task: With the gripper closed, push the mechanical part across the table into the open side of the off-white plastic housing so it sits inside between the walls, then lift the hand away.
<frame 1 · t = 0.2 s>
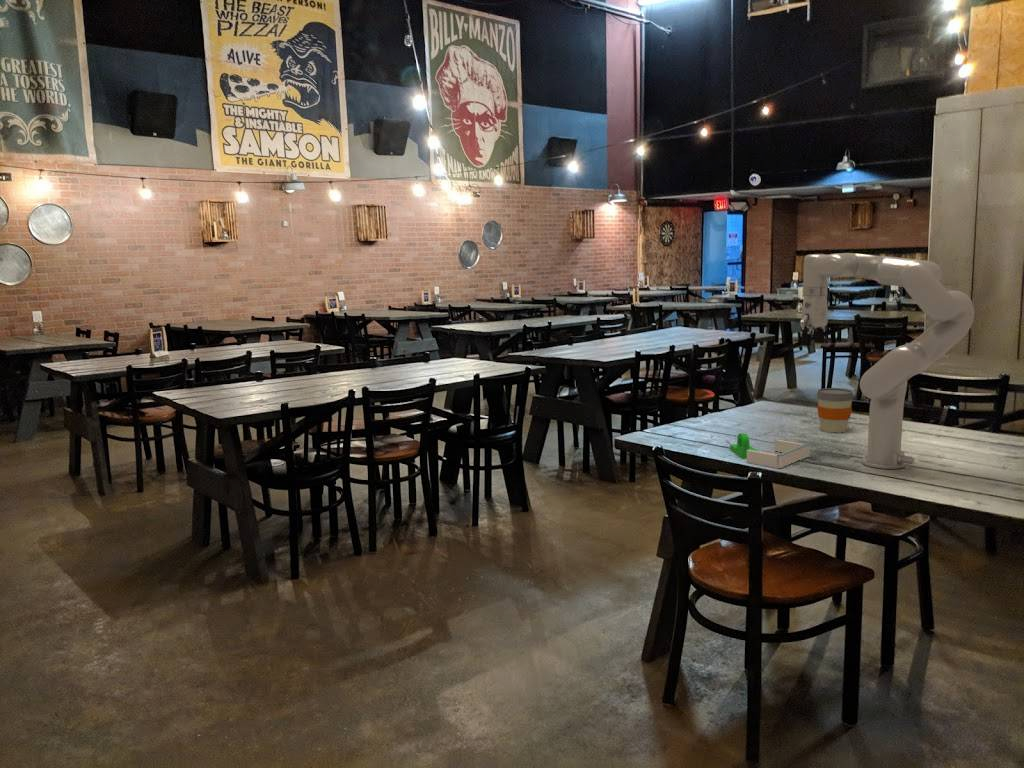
hand: (812, 344, 260), 37 cm above the table, tool pointing down, fingers open, 9 cm apart
mechanical part: (744, 454, 266), on the table
housing: (777, 459, 258), on the table
reusable coffee cup: (833, 430, 296), on the table
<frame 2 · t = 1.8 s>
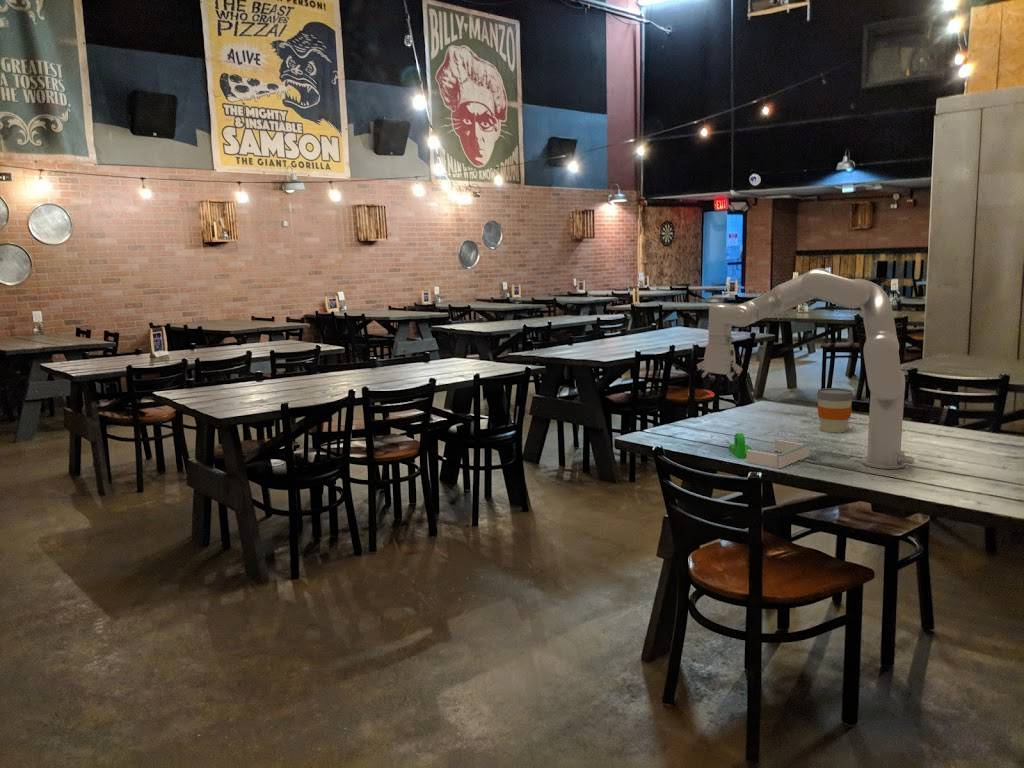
hand: (718, 390, 271), 21 cm above the table, tool pointing down, fingers open, 9 cm apart
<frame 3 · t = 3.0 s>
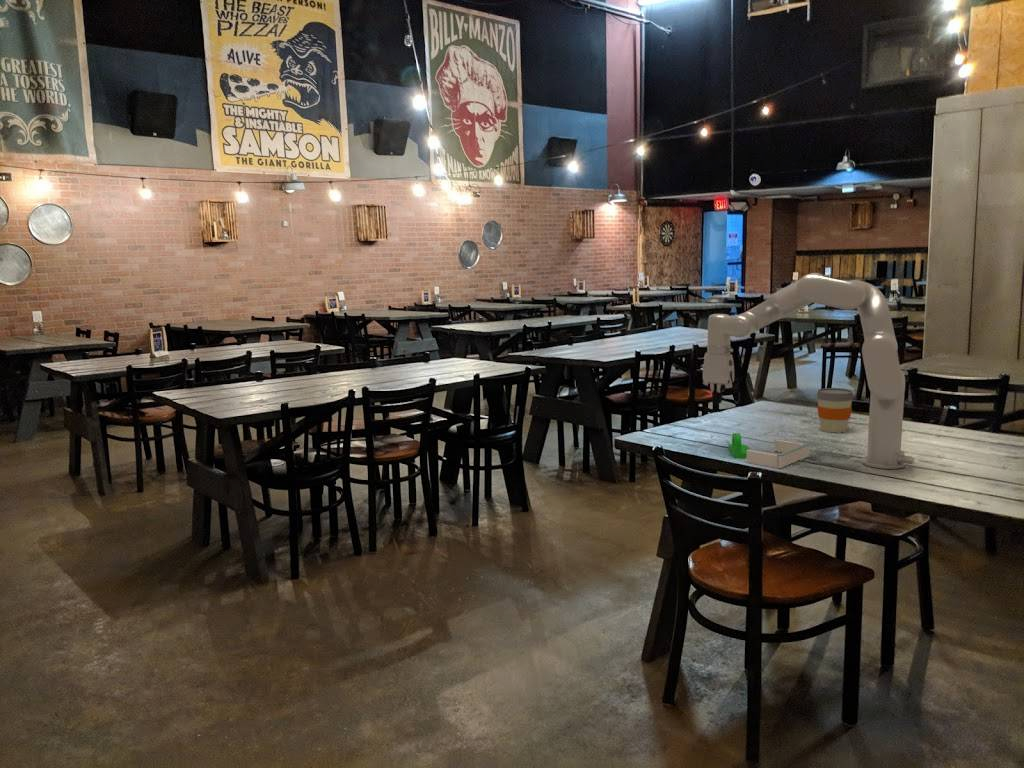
hand: (716, 402, 272), 16 cm above the table, tool pointing down, fingers closed
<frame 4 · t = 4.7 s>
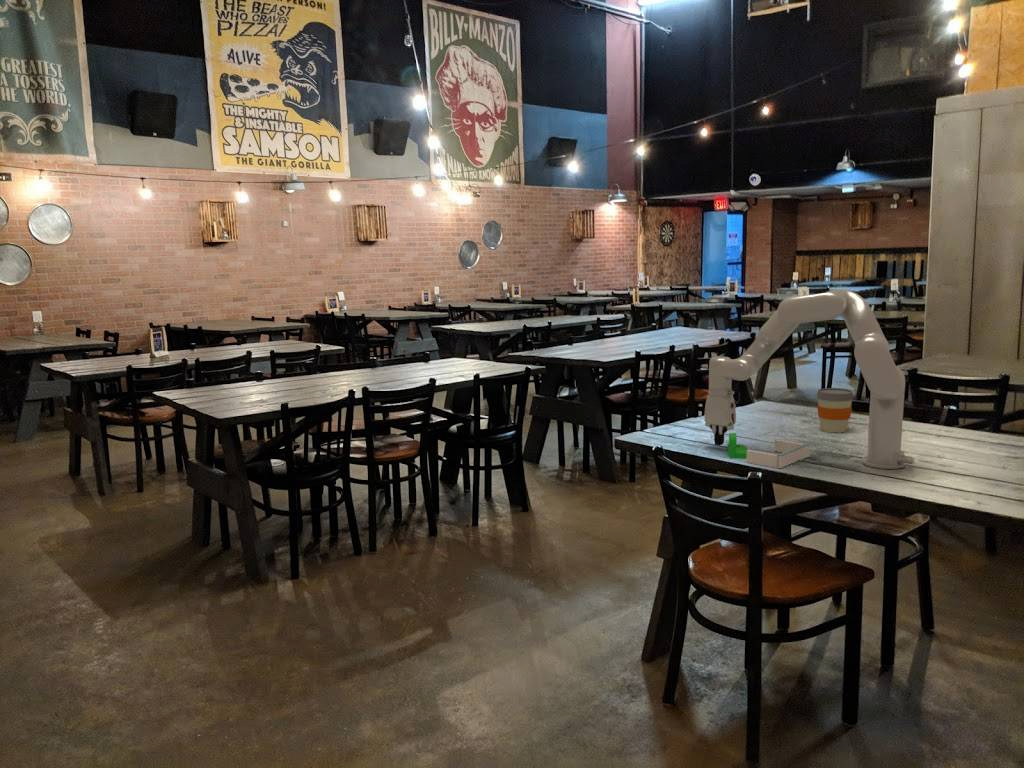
hand: (719, 444, 273), 1 cm above the table, tool pointing down, fingers closed
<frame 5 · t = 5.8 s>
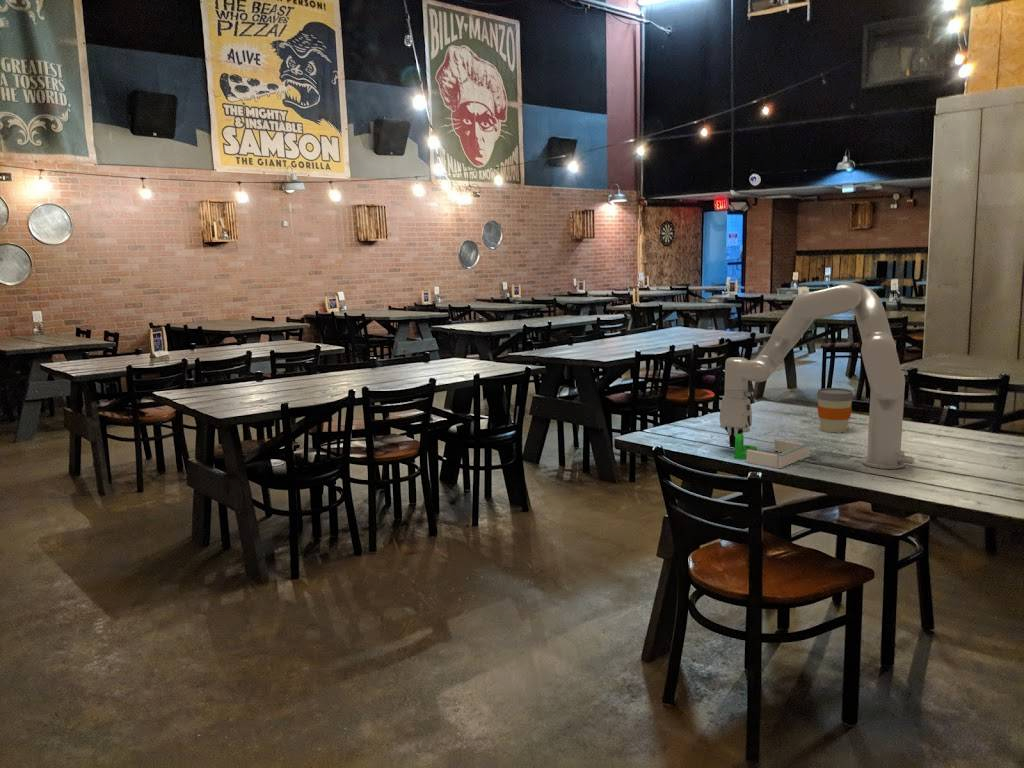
hand: (734, 446, 269), 2 cm above the table, tool pointing down, fingers closed
mechanical part: (746, 455, 265), on the table, touching gripper
everything else where it was.
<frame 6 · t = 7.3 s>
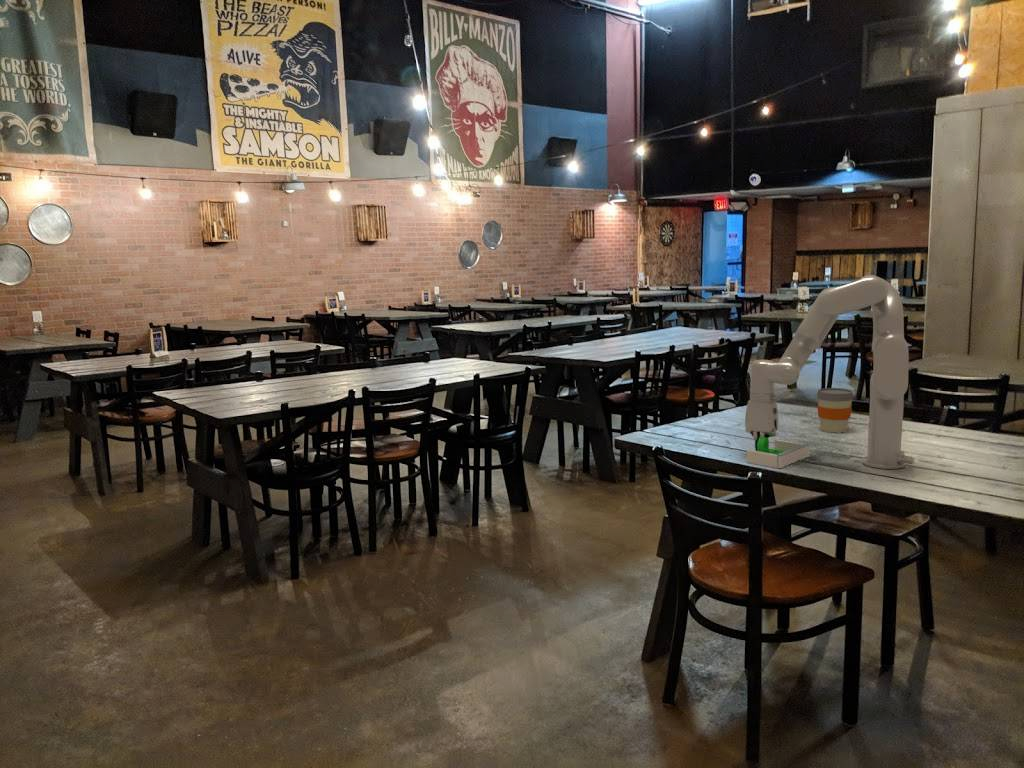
hand: (760, 451, 262), 2 cm above the table, tool pointing down, fingers closed
mechanical part: (771, 460, 259), on the table
everything else where it was.
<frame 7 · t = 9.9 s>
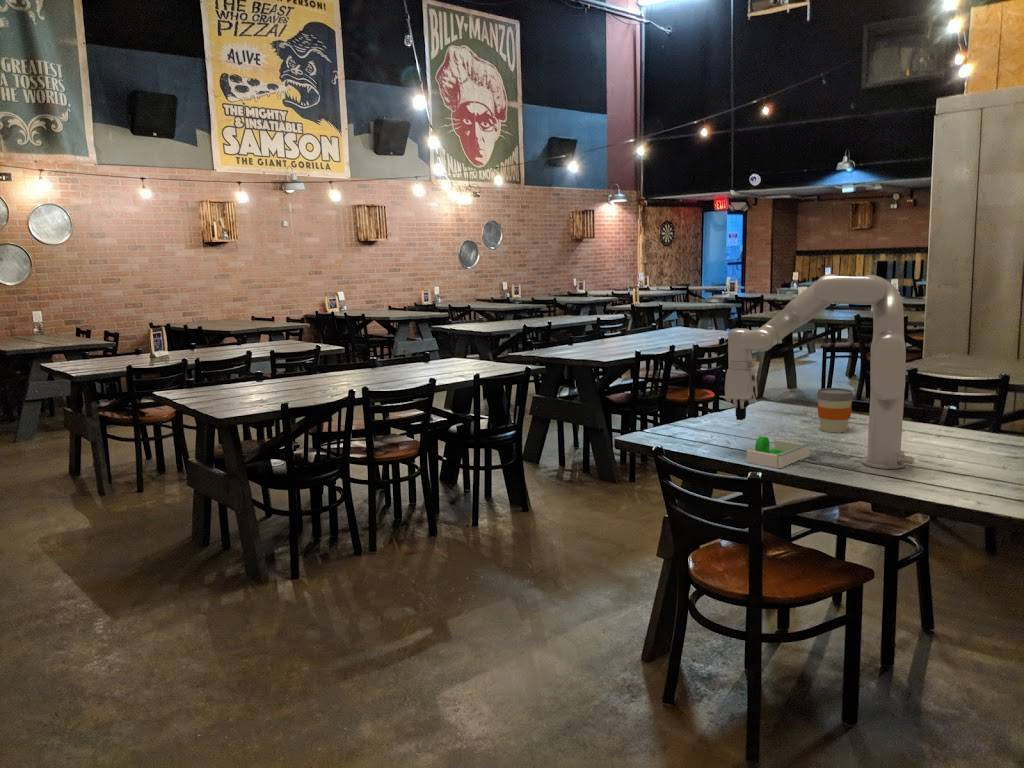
hand: (740, 419, 266), 11 cm above the table, tool pointing down, fingers closed
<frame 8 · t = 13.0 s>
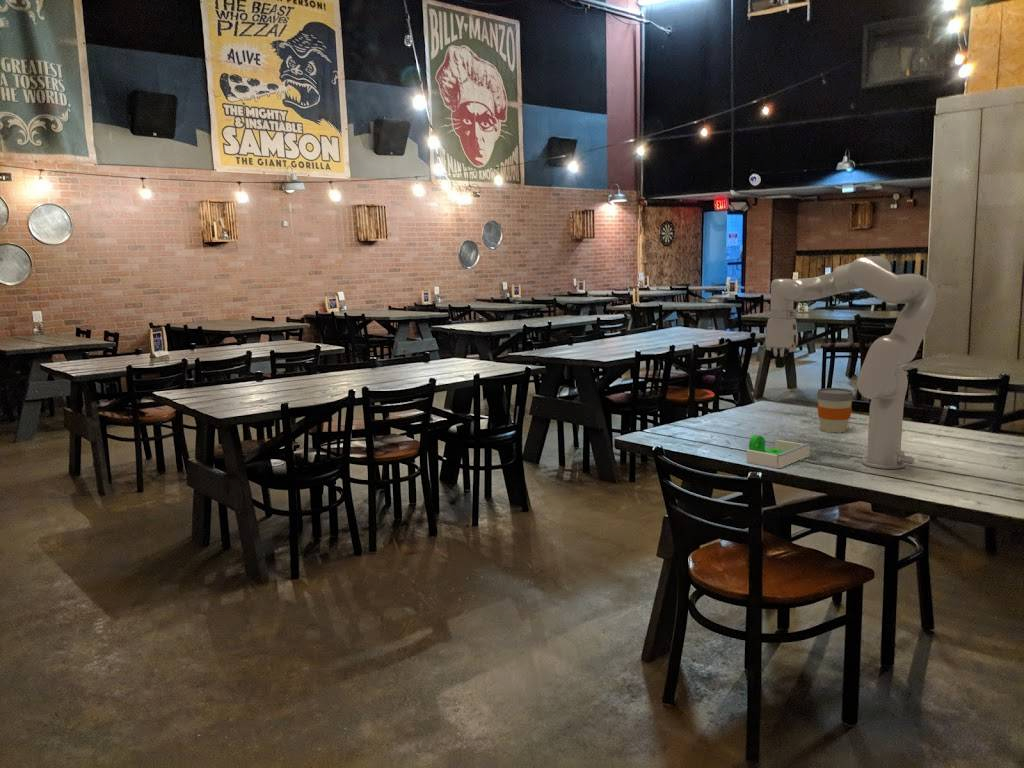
hand: (780, 367, 274), 27 cm above the table, tool pointing down, fingers closed
mechanical part: (768, 459, 260), on the table
everything else where it was.
at the end: mechanical part inside the target area on the housing (2.8 cm from its centre), point -0.5 cm above the housing's base; mechanical part tilted 0°; mechanical part moved 8.5 cm from its start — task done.
